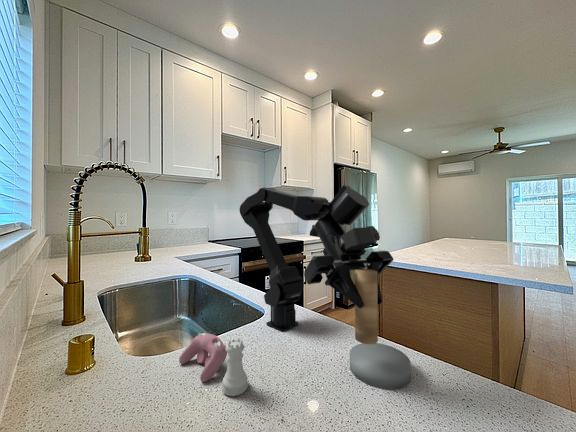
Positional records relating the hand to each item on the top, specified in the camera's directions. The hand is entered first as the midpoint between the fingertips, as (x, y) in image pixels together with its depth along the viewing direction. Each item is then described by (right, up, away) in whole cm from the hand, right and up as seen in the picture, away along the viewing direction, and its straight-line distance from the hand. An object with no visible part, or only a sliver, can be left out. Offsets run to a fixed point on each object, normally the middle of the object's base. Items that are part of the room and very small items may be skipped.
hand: (371, 305), depth 45 cm
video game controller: (-32, -14, +4) cm, 35 cm away
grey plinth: (+2, -14, +3) cm, 14 cm away
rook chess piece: (-24, -14, -2) cm, 28 cm away
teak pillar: (-1, -7, +1) cm, 7 cm away
